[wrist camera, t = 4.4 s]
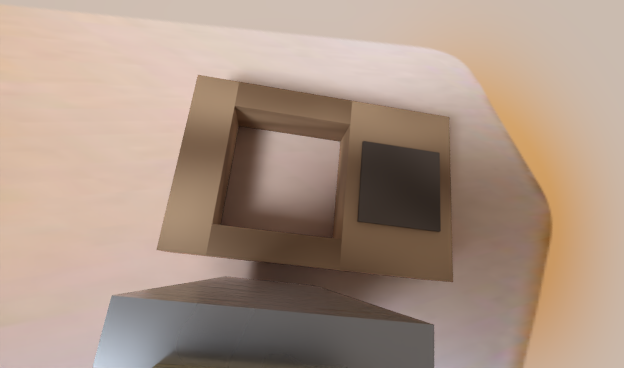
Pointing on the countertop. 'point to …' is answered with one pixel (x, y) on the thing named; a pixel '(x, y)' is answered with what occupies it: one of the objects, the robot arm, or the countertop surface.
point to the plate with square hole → (350, 183)
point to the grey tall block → (257, 329)
